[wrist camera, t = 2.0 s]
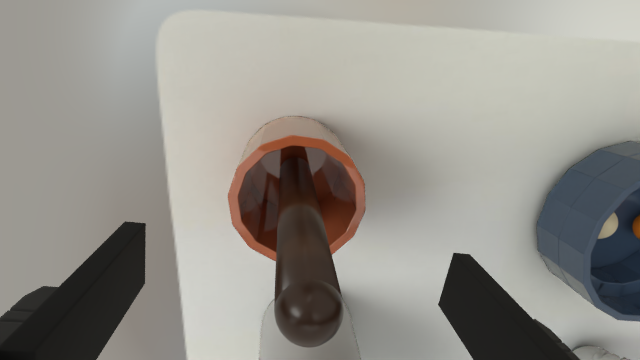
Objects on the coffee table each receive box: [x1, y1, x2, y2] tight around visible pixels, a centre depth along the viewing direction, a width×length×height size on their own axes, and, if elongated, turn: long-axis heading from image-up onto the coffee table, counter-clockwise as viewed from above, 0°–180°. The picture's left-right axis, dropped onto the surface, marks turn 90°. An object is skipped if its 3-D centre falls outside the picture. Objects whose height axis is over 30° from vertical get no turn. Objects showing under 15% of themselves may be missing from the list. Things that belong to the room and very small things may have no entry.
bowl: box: [537, 141, 640, 322], centre depth 31 cm, size 14×14×6 cm
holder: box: [228, 116, 365, 261], centre depth 25 cm, size 8×8×8 cm
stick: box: [274, 157, 344, 348], centre depth 20 cm, size 2×2×18 cm
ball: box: [598, 212, 618, 239], centre depth 31 cm, size 3×3×3 cm
